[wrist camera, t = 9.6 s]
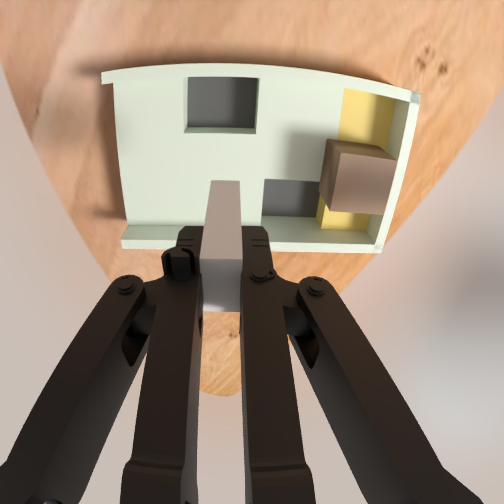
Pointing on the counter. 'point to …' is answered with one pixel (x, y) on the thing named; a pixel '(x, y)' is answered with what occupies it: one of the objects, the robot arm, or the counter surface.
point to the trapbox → (251, 149)
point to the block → (356, 177)
